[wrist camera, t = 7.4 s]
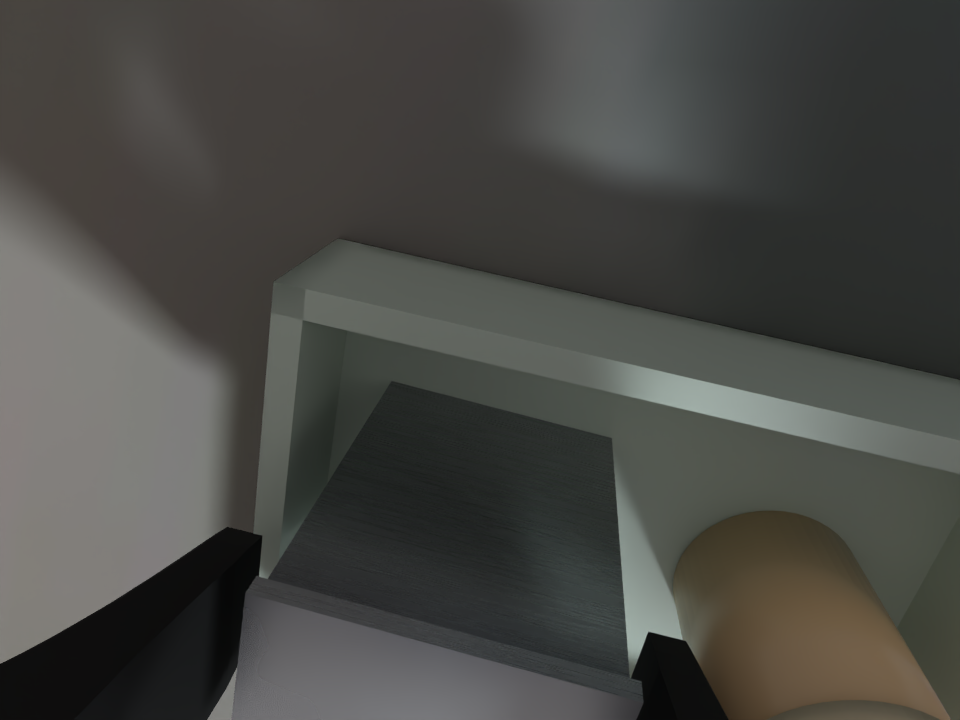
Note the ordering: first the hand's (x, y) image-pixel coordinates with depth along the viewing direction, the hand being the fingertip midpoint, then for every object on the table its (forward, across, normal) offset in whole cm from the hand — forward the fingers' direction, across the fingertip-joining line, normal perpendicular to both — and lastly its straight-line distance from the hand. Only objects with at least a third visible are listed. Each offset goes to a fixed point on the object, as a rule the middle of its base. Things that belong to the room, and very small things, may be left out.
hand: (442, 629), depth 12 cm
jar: (+3, -6, 0) cm, 7 cm away
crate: (+4, -3, 0) cm, 5 cm away
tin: (+3, 0, 0) cm, 3 cm away
